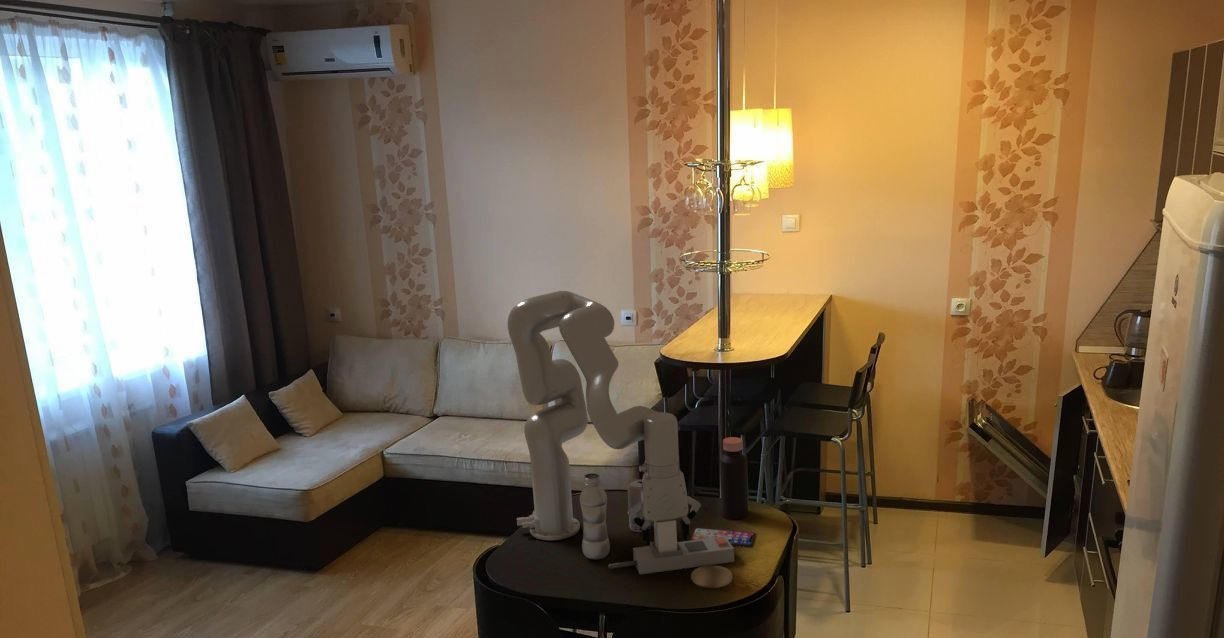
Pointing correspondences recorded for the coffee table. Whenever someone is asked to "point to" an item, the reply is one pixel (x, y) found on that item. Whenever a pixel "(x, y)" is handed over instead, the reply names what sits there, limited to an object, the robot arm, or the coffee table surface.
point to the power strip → (681, 555)
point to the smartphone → (733, 536)
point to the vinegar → (733, 480)
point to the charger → (665, 535)
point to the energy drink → (635, 502)
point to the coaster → (711, 576)
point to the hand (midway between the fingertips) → (665, 540)
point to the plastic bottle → (594, 518)
